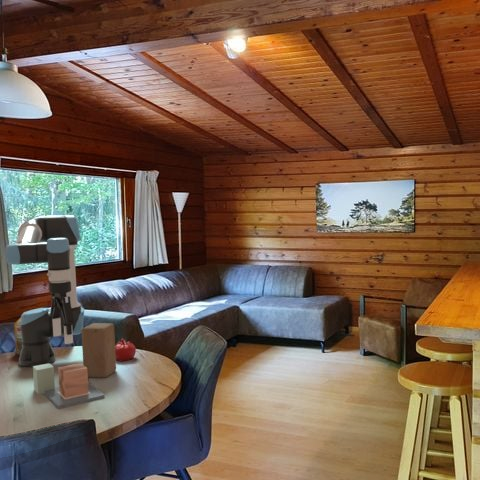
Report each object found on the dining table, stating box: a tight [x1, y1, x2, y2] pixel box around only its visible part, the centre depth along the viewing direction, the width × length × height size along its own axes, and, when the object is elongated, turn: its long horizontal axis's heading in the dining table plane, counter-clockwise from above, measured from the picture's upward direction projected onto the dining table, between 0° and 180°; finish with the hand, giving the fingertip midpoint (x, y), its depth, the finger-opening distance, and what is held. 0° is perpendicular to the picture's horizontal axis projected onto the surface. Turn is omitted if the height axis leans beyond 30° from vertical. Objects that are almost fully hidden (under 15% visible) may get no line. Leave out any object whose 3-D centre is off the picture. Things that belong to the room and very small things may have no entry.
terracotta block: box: [57, 362, 89, 398], centre depth 184 cm, size 8×8×9 cm
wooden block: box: [81, 322, 117, 379], centre depth 208 cm, size 10×10×20 cm
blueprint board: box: [43, 381, 105, 410], centre depth 185 cm, size 18×16×1 cm
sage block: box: [32, 363, 56, 395], centre depth 191 cm, size 6×6×9 cm
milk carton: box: [13, 311, 26, 356], centre depth 245 cm, size 11×11×19 cm
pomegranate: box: [115, 338, 137, 362], centre depth 229 cm, size 10×10×9 cm
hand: (63, 339), depth 186 cm, fingers open, 13 cm apart
